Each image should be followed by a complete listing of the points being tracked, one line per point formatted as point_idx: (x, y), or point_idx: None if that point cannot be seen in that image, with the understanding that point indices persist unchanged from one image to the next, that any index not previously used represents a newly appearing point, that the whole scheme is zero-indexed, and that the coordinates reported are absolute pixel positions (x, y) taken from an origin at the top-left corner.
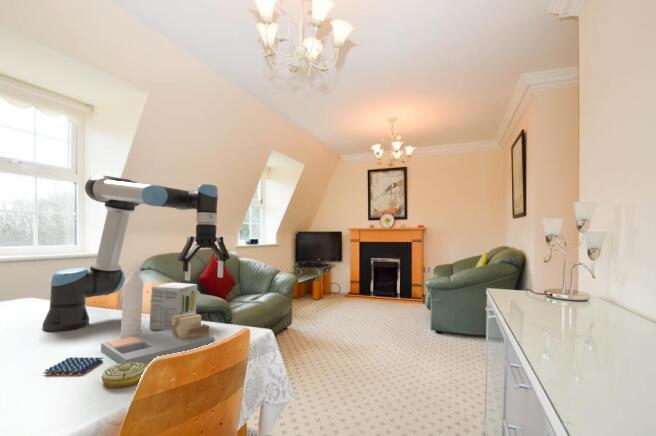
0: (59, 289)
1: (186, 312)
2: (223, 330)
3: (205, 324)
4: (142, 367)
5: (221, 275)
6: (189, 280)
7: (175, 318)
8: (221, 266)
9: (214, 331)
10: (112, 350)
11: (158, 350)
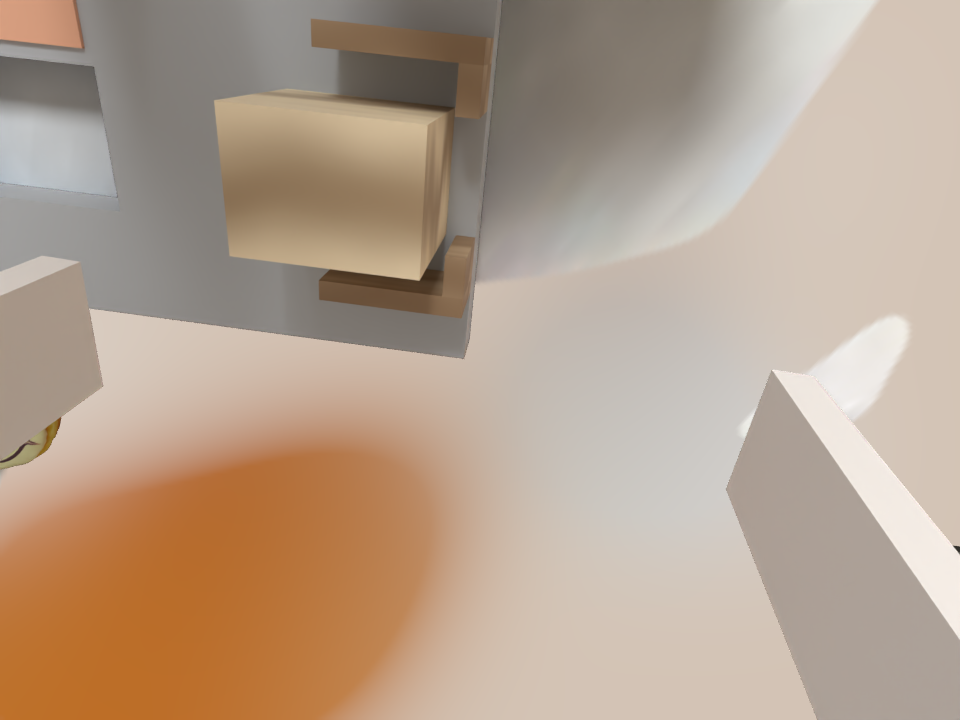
0: None
1: None
2: (741, 137)
3: (465, 271)
4: (13, 453)
5: (743, 518)
6: (88, 387)
7: (225, 162)
8: (813, 694)
9: (679, 99)
10: None
11: (130, 296)
